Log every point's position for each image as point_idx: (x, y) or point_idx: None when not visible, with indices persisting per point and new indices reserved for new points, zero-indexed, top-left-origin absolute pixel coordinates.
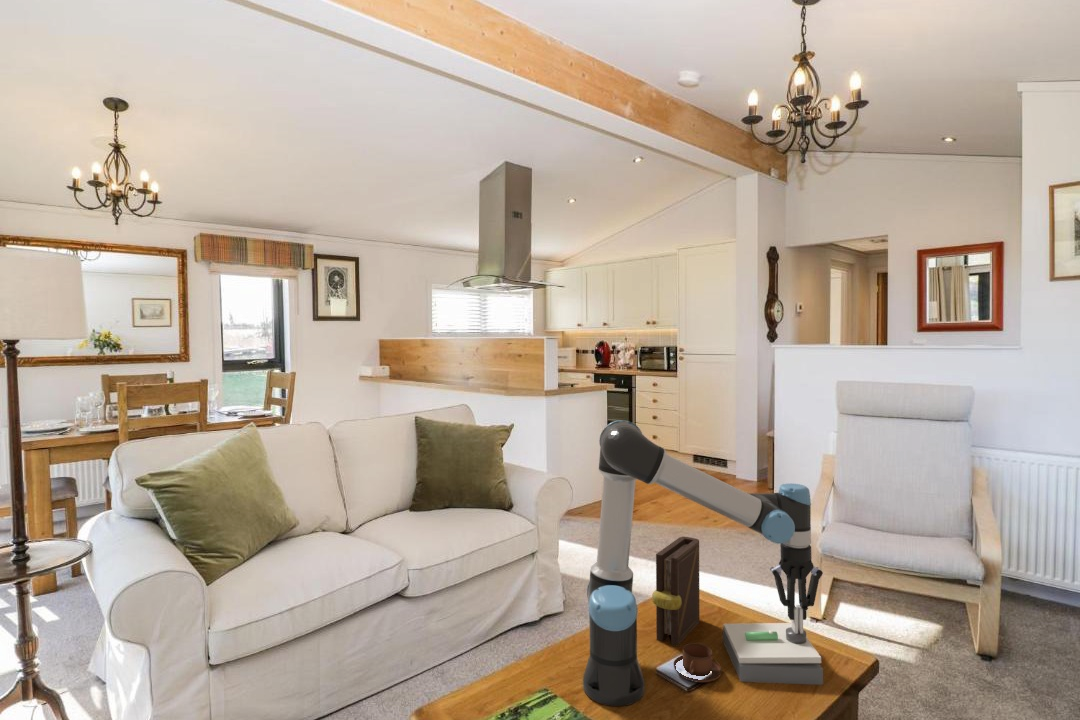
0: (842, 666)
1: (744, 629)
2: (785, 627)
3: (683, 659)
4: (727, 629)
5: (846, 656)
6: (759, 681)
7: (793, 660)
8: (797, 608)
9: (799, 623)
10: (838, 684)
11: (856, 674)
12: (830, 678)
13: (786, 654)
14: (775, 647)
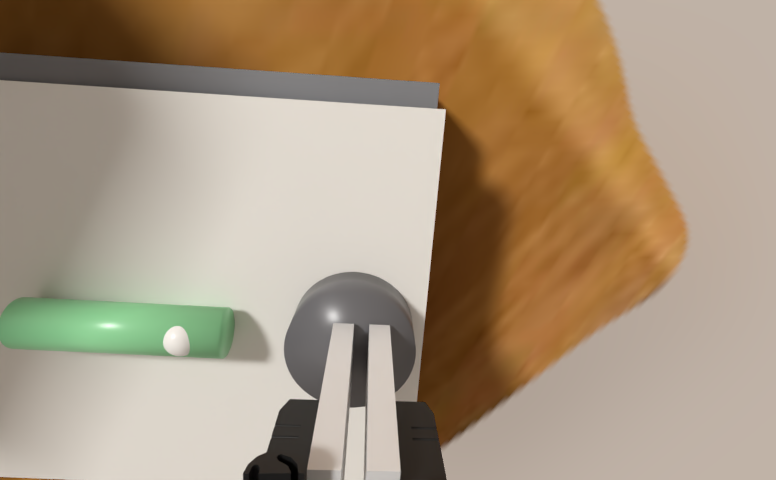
0: (548, 293)
1: (38, 180)
2: (340, 173)
3: None
4: None
5: (618, 212)
6: None
7: None
8: (365, 478)
9: (365, 421)
10: (459, 410)
11: (569, 346)
12: (449, 376)
13: (243, 463)
14: (202, 400)
